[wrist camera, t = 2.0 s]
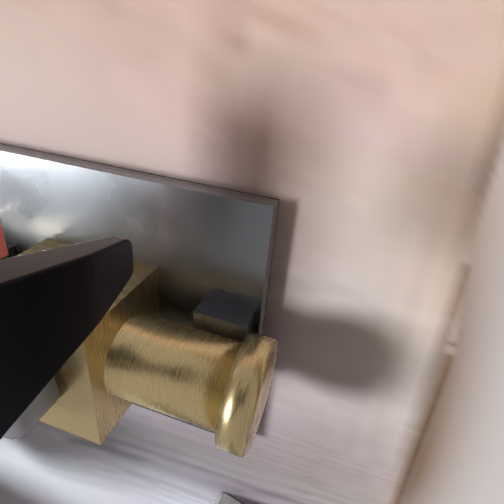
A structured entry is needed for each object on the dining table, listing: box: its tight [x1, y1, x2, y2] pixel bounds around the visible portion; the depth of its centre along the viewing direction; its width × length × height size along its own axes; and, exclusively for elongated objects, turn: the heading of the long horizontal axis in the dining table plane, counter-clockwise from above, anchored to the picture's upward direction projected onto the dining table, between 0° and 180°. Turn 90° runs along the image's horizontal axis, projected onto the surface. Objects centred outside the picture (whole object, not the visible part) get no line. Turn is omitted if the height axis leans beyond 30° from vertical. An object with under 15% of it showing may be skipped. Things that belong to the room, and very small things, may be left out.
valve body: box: [0, 144, 279, 458], centre depth 18 cm, size 18×14×6 cm
